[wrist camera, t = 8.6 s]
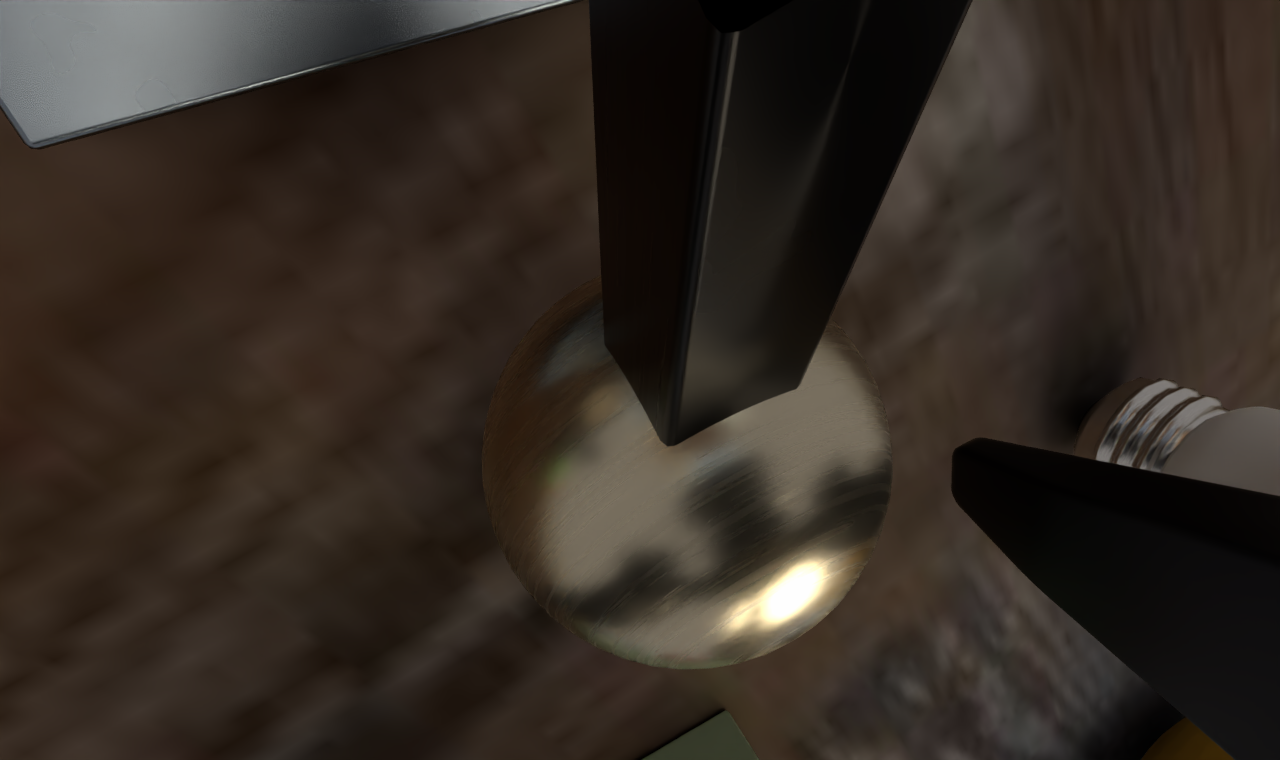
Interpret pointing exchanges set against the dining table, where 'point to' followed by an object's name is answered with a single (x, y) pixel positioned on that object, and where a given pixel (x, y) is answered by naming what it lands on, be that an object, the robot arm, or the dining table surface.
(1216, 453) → the light bulb
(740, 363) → the switch lever
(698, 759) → the button box
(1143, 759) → the emoji
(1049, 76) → the dining table surface
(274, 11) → the switch bracket
